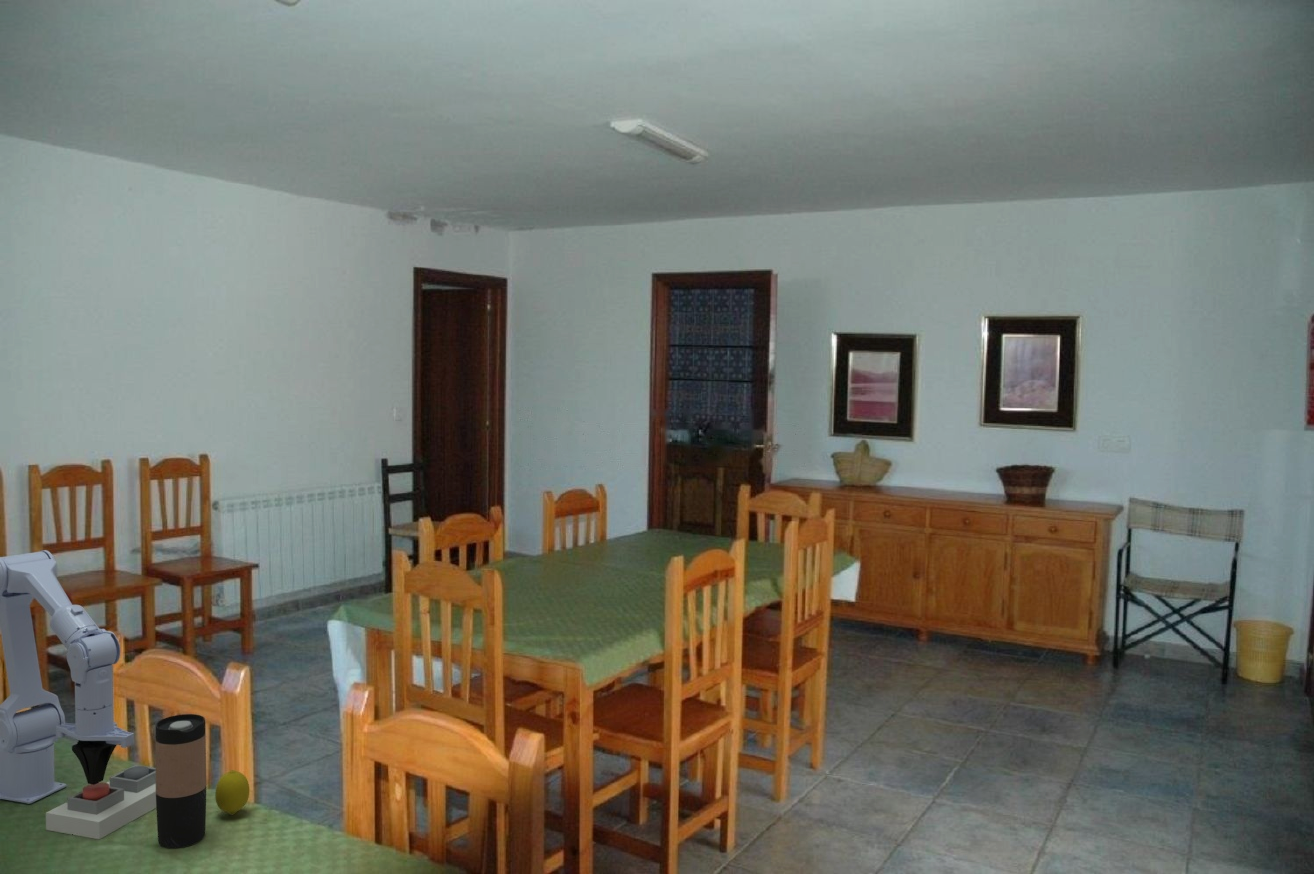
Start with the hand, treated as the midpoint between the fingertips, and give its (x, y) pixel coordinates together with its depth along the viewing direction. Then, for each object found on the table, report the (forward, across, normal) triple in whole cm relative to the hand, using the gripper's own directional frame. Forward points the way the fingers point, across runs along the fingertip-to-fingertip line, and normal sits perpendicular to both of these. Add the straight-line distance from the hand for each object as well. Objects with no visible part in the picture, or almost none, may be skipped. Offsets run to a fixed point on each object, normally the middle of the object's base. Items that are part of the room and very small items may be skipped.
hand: (95, 781), depth 171 cm
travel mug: (+7, -18, 0) cm, 19 cm away
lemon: (+7, -20, -10) cm, 23 cm away
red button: (+3, 0, 0) cm, 3 cm away
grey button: (+4, 0, -9) cm, 10 cm away
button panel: (+7, 0, -4) cm, 8 cm away
